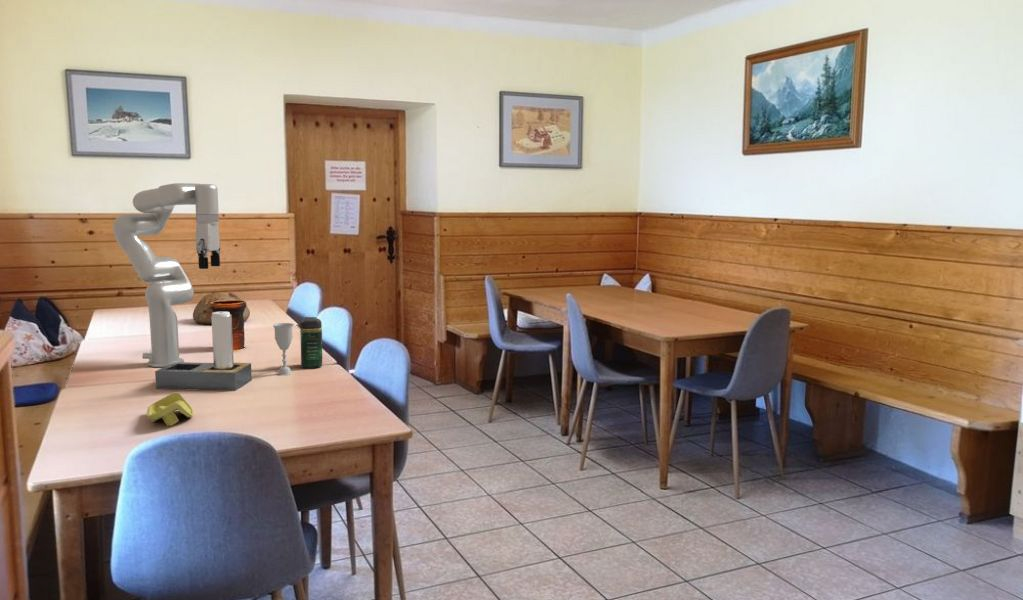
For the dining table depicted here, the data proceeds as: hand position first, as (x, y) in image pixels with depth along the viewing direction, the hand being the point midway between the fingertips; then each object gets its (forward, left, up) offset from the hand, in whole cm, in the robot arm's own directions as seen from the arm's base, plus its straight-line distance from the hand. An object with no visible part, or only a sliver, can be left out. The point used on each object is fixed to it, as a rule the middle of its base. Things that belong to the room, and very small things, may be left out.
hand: (209, 267), depth 280 cm
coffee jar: (+32, +13, -38) cm, 52 cm away
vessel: (-12, +43, -38) cm, 59 cm away
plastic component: (+12, -59, -39) cm, 72 cm away
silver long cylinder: (+11, -18, -38) cm, 44 cm away
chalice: (+26, 0, -38) cm, 46 cm away
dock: (+5, -18, -38) cm, 43 cm away
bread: (-43, +109, -39) cm, 123 cm away
